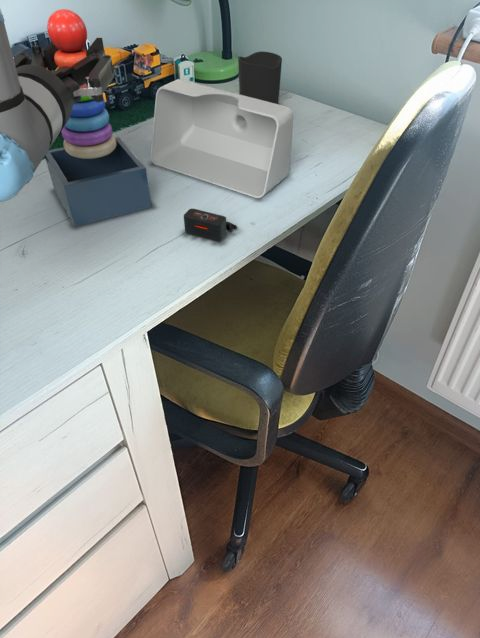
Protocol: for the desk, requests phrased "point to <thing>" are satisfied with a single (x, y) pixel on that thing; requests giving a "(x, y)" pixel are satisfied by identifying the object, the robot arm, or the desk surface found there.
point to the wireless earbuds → (207, 225)
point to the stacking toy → (87, 115)
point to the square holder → (99, 184)
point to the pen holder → (260, 76)
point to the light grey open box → (222, 137)
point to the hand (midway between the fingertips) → (81, 47)
